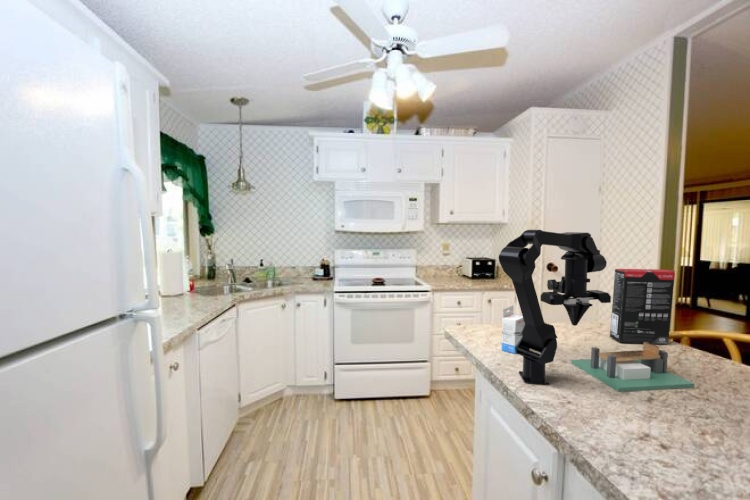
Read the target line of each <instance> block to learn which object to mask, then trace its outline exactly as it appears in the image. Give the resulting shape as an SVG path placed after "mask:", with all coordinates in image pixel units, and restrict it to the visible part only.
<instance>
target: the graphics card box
mask: <svg viewBox="0 0 750 500" xmlns="http://www.w3.org/2000/svg"><path fill="white" fill-rule="evenodd" d="M675 275H676V273H675V271H674V270H671V269H656V268H655V269H651V268H648V269H647V268H642V269H641V268H615V269H614V278H613V279H614V281H613V292H612V293H613V294H612V304H611V305H612V308H611V315H610V316H611V318H610V331H609V333H610V334H609V337H610V338H611V339H613V340H615V341H617V342H619V343H625V344H626V343H628V344H644V342H648V343H651V344H653V345H666V346H667V345H669V340H670V331H671V329H670V328H671V316H672V308H673V307H672V306H673V295H674V287H675V286H674V285H675Z"/></svg>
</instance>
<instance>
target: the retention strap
mask: <svg viewBox="0 0 750 500" xmlns="http://www.w3.org/2000/svg"><path fill="white" fill-rule="evenodd" d="M642 347H643V348H642V350H626V351H625V350H624V351H606V352H605V351H604V352H599V353H598V356H599V357H601V358H603V359H605V360H607V355H614V356H616V361H628V360H646V359H660V356H661V355H659V349H660V346H658V345H657V344H651V343H648V342H644V344H643V346H642Z"/></svg>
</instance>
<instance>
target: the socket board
mask: <svg viewBox="0 0 750 500" xmlns="http://www.w3.org/2000/svg"><path fill="white" fill-rule="evenodd" d="M598 353H600V348H599V347H597V346H596V347H595V346H593V347H591V351H590V358H585V359H570V362H571V363H570V364H572V365H573V366H575V367H577V368H579V369H580V370H582V371H584V372H585V373H587V374H588V375H590V376H592V377H593V378H594V379H597V380H598V379H599V380H598V381H600V382H602V383H604V384H605V385H607V386H608V387H610V388H612V389H613V390H615V391H617V392H633V391H650V390H651V391H653V390H668V389H669V390H670V389H671V390H673V389H683V388H686V389H689V388H695V382H692V381H689V380H688V379H685V378H683V377H681V376H679V375H676V374H674V373H672V372H669V371H667V370H668V369H667V368H668V354H669V353H668V352H667V351H664V350H663V349H662V350H661V349H660V348H659V355H661V356H660V359H646V360H628V361H616V356H614V355H607V360H605V359H603V358H601V357H599V356H598Z"/></svg>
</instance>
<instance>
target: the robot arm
mask: <svg viewBox="0 0 750 500" xmlns="http://www.w3.org/2000/svg"><path fill="white" fill-rule="evenodd" d="M528 245H531V246H530V247H528ZM542 246H553V247H558V248H559V249H560V250H562V251H565V253H564V254H563V255H561V257H560V260H563V261H564V260H565V262H564V276H563V275H562V276H561V279H560V280H559V281H557V280H556V279H547V281H546V282H547V284H546V285H547V290H548V291H542V293H541V294H540V300H539V298H538V295H537V291H536V287H535V283H534V281H533V274H534V272H535V269H536V262H535V261H536V260H537V259H538V258H539V257H540V256H541V251H542V250H541V249H542ZM498 261H499V264H500V267H501V268H502V270H503V272H504V273H505V275H506V276H507V277H509V279H510V280H511V281H512V284H513V286H514V292H515V295H516V298H517V302H518V305H519V308H520V311H521V312H520V313H521V315H522V316H523V319H524V323H525V326H524V328H523V330H522V338H521V339H520V341H519V342H518V344H517V345H516V347H515V350H516V353H515V355H518V356H519V355H520V356H521V357H522V371H521V370H519V371H518V374H519V376H520V377H521V379H522V381H523V382H524V383H526V384H537V385H538V384H539V385H550V381H549V380H548V378H547V377H546V364H549V363H553V362H554V359H555V355H556V352H557V348H558V341H557V339H558V335H557V333H556V327H555V326H554V325H553V324H550V323H547V322H545V320H544V317H543V313H542V309H541V306H540V302H539V301H541V302H543V303H546V304H547V305H550V306H563V308H564V309H565V310H566V312H567V315H568V317H569V321H570V323H571V326H575V327H576V326H578V324H579V323H580V321H581V319H582V318H583V316H584V315H585V313H587V311H588V310H589V309H590V308H591V307H593V303H590V301H591V300H592V301H593V300H598V301H599V302H600V303H601V304H607V303H608V304H610V303H611V302H612V297H611V294H610V293H609V292H607V291H602V290H599V289H588V283H591V278H588V273H589V274H590V273H595V272H596V273H597V272H601V271H603V270H604V269H605V268H606V267H607V265H608V264H607V263H608V262H607V260H606V258H605V256H604V255H602V254H601V250H600V249H598V247H597V245H596V243H595V240H594V238H593V237H592V234H591V233H590V232H574V231H573V232H571V231H570V232H569V231H568V232H554V231H553V232H552V231H544V230H541V229H526V230H524V231H523V232H522V233H521V235H519V236H517V237H516V238H514V239H513V240H511V241H510V242H508V243H507V244H506V246H505V247H503V248H502V249H501V251H500V252H499V254H498Z"/></svg>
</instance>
